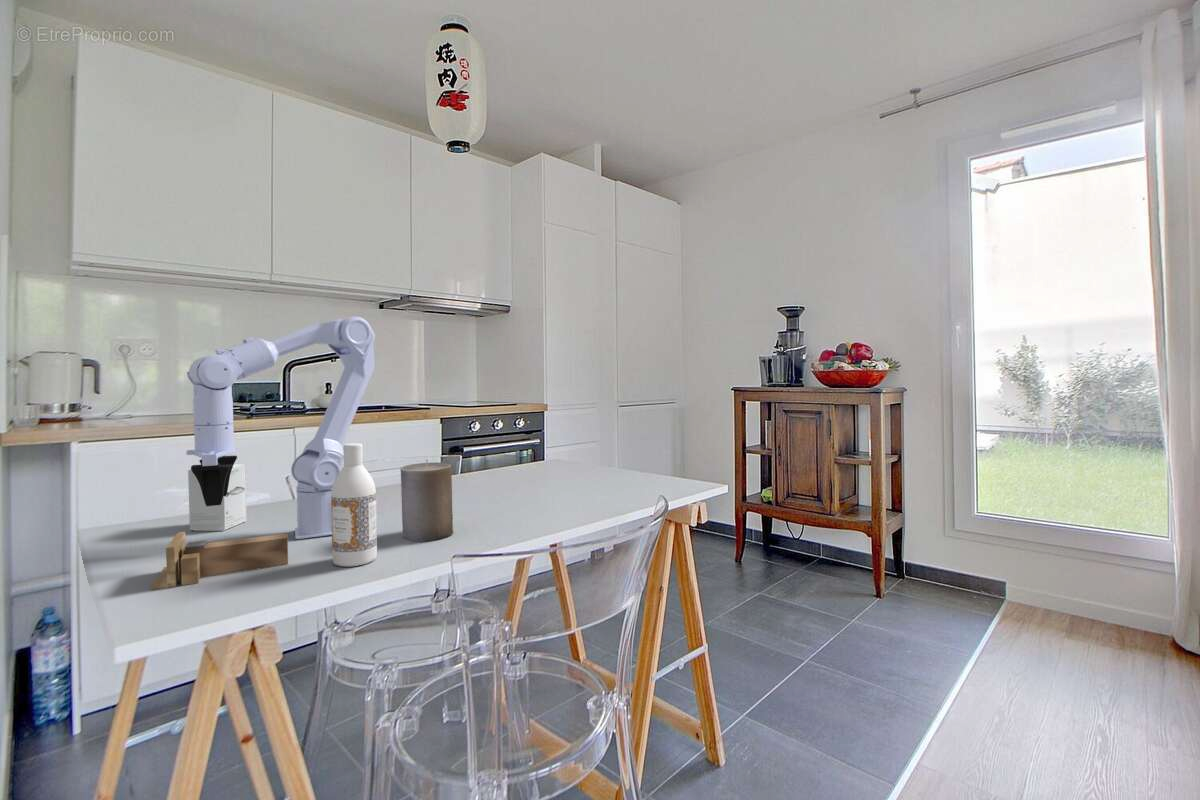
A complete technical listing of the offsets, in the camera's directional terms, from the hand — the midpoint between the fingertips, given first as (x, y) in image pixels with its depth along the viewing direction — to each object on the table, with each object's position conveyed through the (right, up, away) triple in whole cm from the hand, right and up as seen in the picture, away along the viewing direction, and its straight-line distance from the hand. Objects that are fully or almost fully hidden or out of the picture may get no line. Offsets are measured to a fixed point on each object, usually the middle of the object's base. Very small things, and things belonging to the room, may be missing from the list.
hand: (216, 500), depth 98 cm
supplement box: (-12, -9, +18) cm, 23 cm away
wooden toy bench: (+2, -10, -11) cm, 15 cm away
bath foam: (+26, -10, -4) cm, 28 cm away
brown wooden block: (+9, -10, -7) cm, 15 cm away
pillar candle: (+34, -9, +12) cm, 37 cm away
